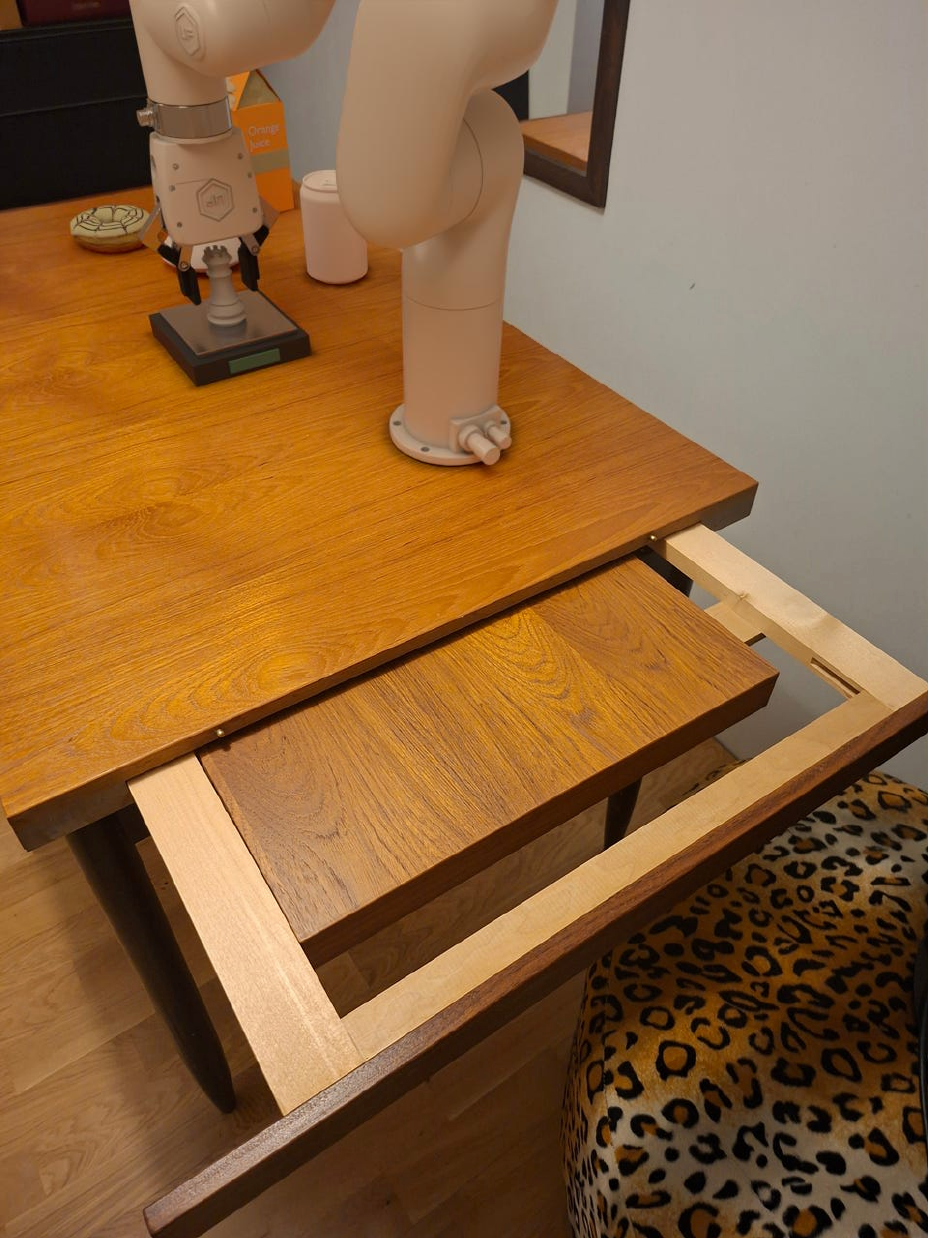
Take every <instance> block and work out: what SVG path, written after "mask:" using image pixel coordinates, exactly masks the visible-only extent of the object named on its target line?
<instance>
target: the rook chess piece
mask: <svg viewBox="0 0 928 1238" xmlns="http://www.w3.org/2000/svg"><path fill="white" fill-rule="evenodd" d="M220 248H221V249H218V246H217V245H213V249H212V250H211V249H210V247H209V246H207V247H205V249H204V255H203V257H202V261H203V262H204V263H205V264H206V265H207V267H208V270H207V271H206V272H205V273H206V275H207V276H208V279H209V280H208V281H209V288H210V289H209V297H208V298H207V299H208V300H209V302H208V303H207V306H206V311H207V312H208V314H207V319H208V320H210V321H211V322H212V323H213V324H214V325H217V326H221V327H229V326H234V325H238V324H239V323H241V322H242V321H243V320H244V318H245V317H246V312H245V311H244V310H243V309H244V304H243V302H242V301H241V300H240V299H239V296H238V295H237V294H236V292H237V291H236V289H235V285H234V283H233V279H232V273H233V269H232V268H231V267H229V263H230V261H231V259H232V256H231V255H230V254H229V253H228V252H227V248H225V246H222V245H221V246H220Z"/></svg>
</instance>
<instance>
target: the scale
mask: <svg viewBox="0 0 928 1238" xmlns="http://www.w3.org/2000/svg"><path fill="white" fill-rule="evenodd" d="M257 292H258V293H259V294H260V295H261V296H263V297H264V298H265V299H266V300H267V301H268V302H269V303H270V304H271V305H272V306H273V307H274V308H276V309H277V310H278V311H279V312H280V313H281V314H282V315H283V316H284V317H285V318H286V319H288V320H289V321H290V322H291V323H292V324H293V325H294V326H295V327H296V328H297V334H293V335H290V336H286V337H282V338H278V339H274V340H271V341H267V342H263V343H259V344H256V345H252V346H248V347H244V348H240V349H237V350H233V351H229V352H225V353H222V354H218V355H214V356H210V357H206V358H203V359H199V360H198V359H197V358H196V357H195V355H194V354H193V353H192V352H191V351H190V350H189V349H188V347H187V346H186V345H185V344H184V343H183V342H182V341H181V340H180V338H179V337H178V336H177V335H176V334H175V333H174V332H173V330H172V329H171V328H170V327H169V326H168V325H167V324H166V323H165V321H164V320H163V319H162V318H161V317H160V316H159V312H154V313H150V314H148V319H149V323H150V328H151V331H152V335H153V337H155V339H156V340H157V341H158V342H159V344H160V345H161V346H162V348H164V349H165V350H166V352H167V353H168V354H169V355H170V356H171V357H172V359H173V360H174V361H175V363H176V364H177V365H178V366H179V367H180V368H181V369H182V370H183V372H184V373H185V374H186V376H188V378H189V379H190V380H191V382H193V384H194V385H195V386H196V387H201V386H204V385H208V384H211V383H217V382H218V381H219V382H220V381H223V380H226V379H230V378H234V377H237V376H241V375H244V374H248V373H251V372H252V373H253V372H255V371H260V370H263V369H266V368H271V367H274V366H277V365H281V364H284V363H287V362H291V361H295V360H299V359H302V358H305V357H310V356H312V347H311V338H310V337H311V336H310V334H309V333H307V332H306V331H305V330H304V329H303V328H302V327H301V326H300V325H299V324H298V323H297V322H295V320H293V319H292V318H291V316H289V315H288V314H287V313H286V312H285V311H283V310H282V309H281V308H280V306H278V305H277V304H275V302H273V301H272V300H271V298H270V297H268V296H267V295H266V294H265V293H264V292H262V290H261V289H259V288H258V291H257Z"/></svg>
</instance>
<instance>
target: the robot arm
mask: <svg viewBox="0 0 928 1238" xmlns="http://www.w3.org/2000/svg"><path fill="white" fill-rule="evenodd" d="M337 1H338V0H128V3H129V7H130V13H131V18H132V23H133V28H134V32H135V37H136V42H137V47H138V53H139V57H140V62H141V67H142V73H143V78H144V82H145V83H144V84H145V87H146V93H147V98H146V103H147V104H146V107H143V109H139V110H136V118H137V122H138V123H139V126H140V127H145V126H148V127H152V129H154V131H152V132H150V134H149V160H150V175H151V184H152V191H153V192H152V193H153V199H154V208H153V209H152V211H151V212H150V213H149V214H150V216H149V217H148V219H147V221H146V222H145V224H144V225H143V227H142V229H141V230H140V232H139V234H138V239H139V240H140V241H141V242H142V243H143V244H142V245H144V246H145V247H147V248H148V249H150V250H151V251H153V252H154V253H155V254H158V255H159V256H160V257H161V256H162V257H163V258H164V259H166V260H167V261H169V262H170V263H172V264H173V265H175V266H176V268H175V269H176V274H177V280H178V285H179V289H180V292H181V294H182V295H183V297H184V298H187V299H188V300H189V301H190V303H193V304H194V305H195V306H197V305H200V304H201V303H202V295H201V292H200V286H199V280H198V276H197V272H196V271H195V269H194V268H193V267H192V266H191V263H190V262H191V256H192V251H193V246H197V245H203V244H208V243H213V242H217V241H222V240H227V239H232V238H236V237H237V238H238V240H239V241H240V243H241V245H240V247H239V248H238V250H237V253H238V260H239V263H238V266H239V272H240V278H241V282H242V284H243V285H244V286H245V287H246V288H247V289H250V290H251V291H253V292H256V291H258V289H259V282H258V281H259V280H260V279H261V273H260V267H259V260H258V259H259V257H258V255H260V253H261V250H262V249H261V247H262V245H263V244H264V243H265V240H266V239H267V238H268V236H269V235H270V230H271V229H272V228H274V227H273V226H274V225H275V223H276V222H277V221H278V219H279V217H280V212H279V211H278V210H277V209H275V208H274V207H273V206H272V205H270V204H269V203H268V202H267V201H266V200H264V199H263V198H262V197H261V196H260V195H258V190H257V185H256V181H255V176H254V172H253V168H252V164H251V160H250V156H249V152H248V149H247V145H246V142H245V139H244V136H243V133H242V130H241V129H240V128H239V127H237V126H235V125H233V124H232V119H231V112H230V105H229V98H228V91H227V84H226V77H231V76H235V75H238V74H241V73H245V72H249V71H252V70H255V69H257V68H259V69H260V68H263V67H267V66H270V65H274V64H278V63H281V62H285V61H289V60H292V59H295V58H297V57H300V56H302V55H303V54H305V52H307V51H308V49H310V48H311V47H312V46H313V44H315V42H316V41H317V39H318V38H319V36H320V35H321V33H322V32H323V29H324V28H325V26H326V24H327V22H328V20H329V19H330V15H331V13H332V11H333V9H334V7H335V5H336V3H337ZM559 1H560V0H360V2H359V4H358V8H357V12H356V16H355V20H354V27H353V31H352V38H351V44H350V45H351V46H350V53H349V59H348V65H347V73H346V78H345V85H344V92H343V99H342V107H341V112H340V118H339V119H340V120H339V127H338V133H337V142H336V151H335V165H334V166H335V169H334V170H336V184H337V190H338V195H339V199H340V202H341V206H342V208H343V211H344V213H345V215H346V217H347V219H348V221H349V222H350V224H351V225H352V227H353V228H354V230H355V231H356V232H357V233H358V234H359V235H360V236H361V237H362V238H363V239H365V240H366V241H367V243H370V244H371V245H373V246H375V247H377V248H381V249H386V250H392V251H393V250H394V251H395V250H402V255H401V256H402V257H401V324H402V329H401V330H402V369H403V403H401V404H400V405H399V406H398V407H396V409H394V410H393V412H392V414H391V416H390V418H389V424H388V425H389V436H390V439H391V440H392V442H393V444H394V445H395V446H396V447H397V449H398V450H400V451H401V452H402V453H404V454H405V455H407V456H408V457H411V458H413V459H415V460H418V461H421V462H423V463H427V464H431V465H438V466H448V467H449V466H464V465H473V464H475V463H480V462H483V464H485V465H486V466H491V465H494V464H495V463H496V462H498V460H499V459H500V456H501V451H503V450H506V449H508V448H509V447H510V446H511V444H512V442H513V440H512V439H513V438H512V437H511V421H510V418H509V416H508V414H507V413H506V412H505V410H503V408H501V406H499V405H498V400H499V399H498V398H499V386H500V367H501V355H502V338H503V323H504V307H505V294H506V293H505V291H506V284H507V283H506V281H507V269H508V268H507V267H508V258H509V257H508V255H509V248H510V239H511V234H512V226H513V222H514V217H515V213H516V208H517V203H518V199H519V194H520V189H521V185H522V181H523V174H524V167H525V166H524V165H525V144H524V137H523V133H522V128H521V125H520V123H519V119H518V117H517V116H516V114H515V112H514V110H513V108H512V107H511V105H510V104H509V103H508V102H507V101H506V100H505V99H504V97H502V95H500V94H498V93H497V92H496V91H494V90H493V89H495V88H497V87H500V86H502V85H505V84H506V83H509V82H511V81H513V80H516V79H517V78H519V77H521V76H522V75H524V74H525V73H526V72H527V71H528V70H529V69H530V68H532V67H533V66H534V65H535V64H536V62H537V61H538V60H539V58H540V56H541V54H542V52H543V50H544V48H545V45H546V43H547V41H548V38H549V35H550V32H551V28H552V25H553V22H554V18H555V15H556V12H557V8H558V5H559ZM161 231H162V232H164V233H166V234H168V236H170V238H171V239H172V244H171V247H170V246H168V245H167V244H165V243H164V241H162V240H161V239H159V234H160V233H161ZM162 257H161V258H162ZM163 258H162V259H163Z"/></svg>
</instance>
